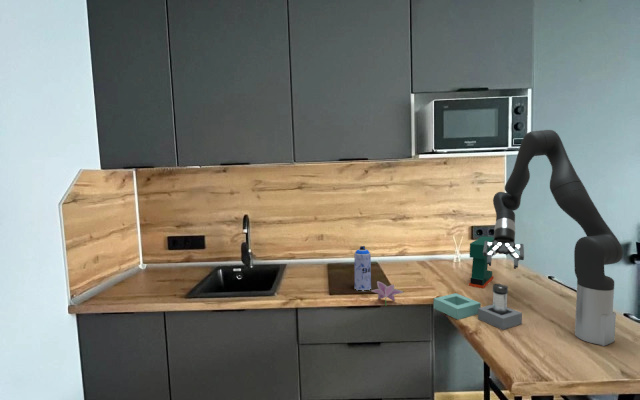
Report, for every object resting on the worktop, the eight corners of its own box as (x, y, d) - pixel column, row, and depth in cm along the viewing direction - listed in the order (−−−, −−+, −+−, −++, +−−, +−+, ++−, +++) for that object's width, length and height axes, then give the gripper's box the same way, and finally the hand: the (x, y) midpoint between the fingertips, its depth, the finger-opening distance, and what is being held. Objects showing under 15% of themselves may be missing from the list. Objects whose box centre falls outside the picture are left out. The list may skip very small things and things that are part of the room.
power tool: (485, 269, 187) (486, 233, 186) (499, 271, 183) (500, 234, 181) (467, 285, 163) (468, 243, 161) (483, 288, 158) (484, 245, 157)
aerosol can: (360, 292, 156) (360, 248, 155) (351, 287, 163) (350, 245, 162) (374, 289, 160) (374, 246, 158) (364, 284, 167) (364, 243, 165)
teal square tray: (480, 313, 132) (480, 303, 131) (457, 319, 127) (457, 309, 126) (455, 302, 142) (455, 293, 142) (433, 308, 137) (433, 298, 137)
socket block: (521, 323, 122) (522, 312, 122) (502, 329, 118) (503, 318, 118) (496, 313, 131) (496, 303, 131) (477, 318, 127) (478, 308, 126)
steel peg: (510, 322, 123) (511, 287, 122) (500, 325, 121) (501, 289, 120) (497, 317, 128) (498, 283, 127) (489, 320, 126) (489, 285, 125)
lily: (407, 307, 141) (405, 284, 145) (391, 304, 133) (390, 279, 137) (382, 309, 148) (381, 287, 152) (366, 306, 141) (365, 283, 145)
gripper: (485, 225, 143) (481, 259, 134) (525, 227, 136) (523, 263, 127) (485, 235, 148) (482, 268, 139) (524, 238, 141) (523, 273, 132)
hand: (502, 266), depth 133 cm, fingers open, 8 cm apart
